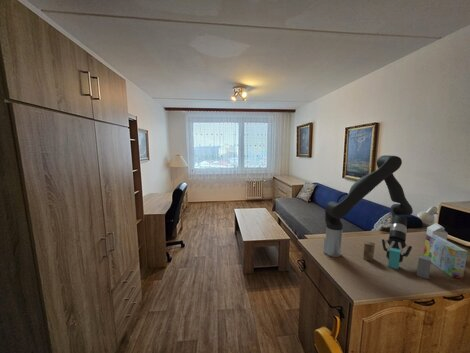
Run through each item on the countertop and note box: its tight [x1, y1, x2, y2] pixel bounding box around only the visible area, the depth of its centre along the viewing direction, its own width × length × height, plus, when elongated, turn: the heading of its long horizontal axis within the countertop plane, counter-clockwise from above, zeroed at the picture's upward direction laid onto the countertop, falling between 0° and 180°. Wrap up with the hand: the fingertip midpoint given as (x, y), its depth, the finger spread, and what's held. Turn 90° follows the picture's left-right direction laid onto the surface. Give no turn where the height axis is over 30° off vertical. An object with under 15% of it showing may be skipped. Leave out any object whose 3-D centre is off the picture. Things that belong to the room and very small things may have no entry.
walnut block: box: [362, 240, 376, 262], centre depth 120 cm, size 4×4×10 cm
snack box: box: [423, 233, 469, 279], centre depth 111 cm, size 21×6×15 cm, turn 168°
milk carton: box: [426, 222, 448, 241], centre depth 127 cm, size 7×7×19 cm
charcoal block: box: [416, 254, 432, 280], centre depth 104 cm, size 4×4×10 cm
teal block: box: [387, 248, 401, 270], centre depth 112 cm, size 4×4×10 cm
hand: (394, 260), depth 111 cm, fingers closed on teal block, 4 cm apart
